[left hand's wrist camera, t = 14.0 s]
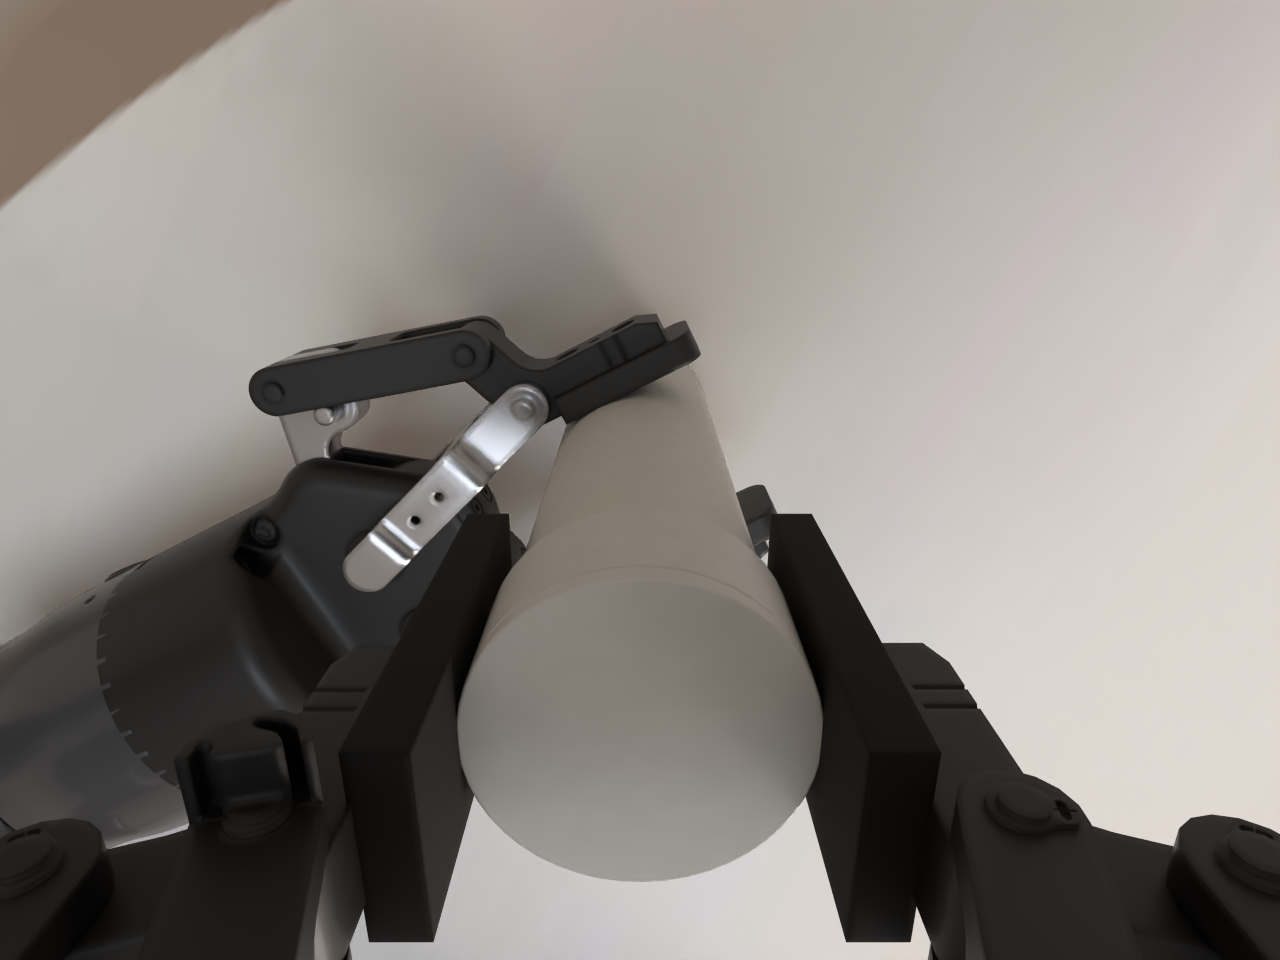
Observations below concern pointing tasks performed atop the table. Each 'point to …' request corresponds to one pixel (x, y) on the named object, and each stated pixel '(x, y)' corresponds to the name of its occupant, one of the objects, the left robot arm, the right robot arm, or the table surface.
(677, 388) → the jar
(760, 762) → the lid
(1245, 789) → the table surface
